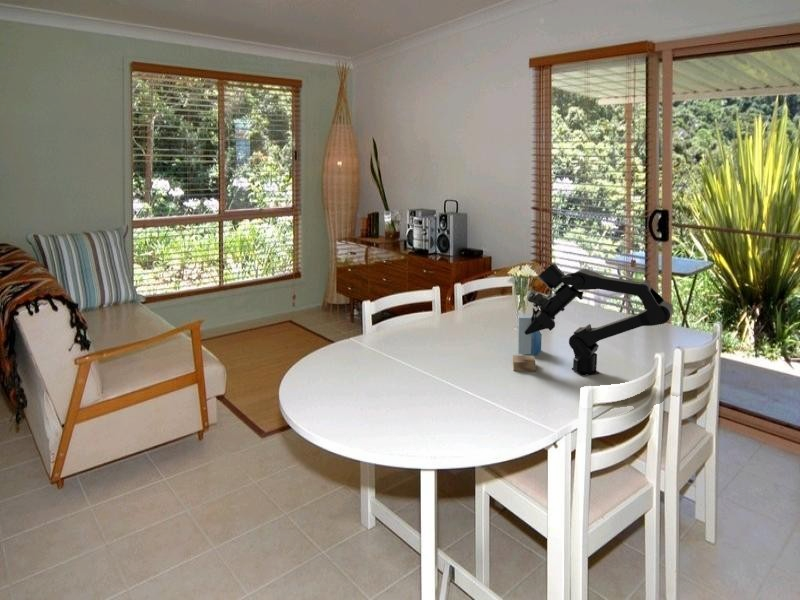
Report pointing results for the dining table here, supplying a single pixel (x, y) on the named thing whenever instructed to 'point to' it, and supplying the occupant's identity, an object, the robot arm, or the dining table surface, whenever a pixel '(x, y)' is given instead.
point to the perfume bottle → (535, 343)
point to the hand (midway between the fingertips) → (525, 331)
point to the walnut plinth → (523, 363)
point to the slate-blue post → (524, 339)
